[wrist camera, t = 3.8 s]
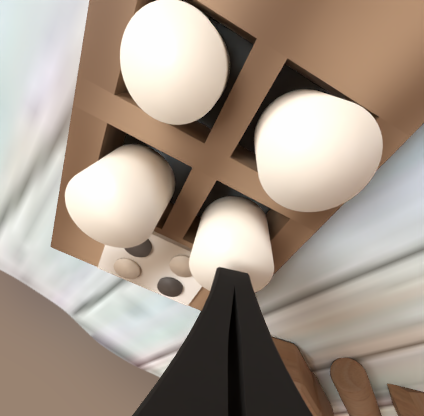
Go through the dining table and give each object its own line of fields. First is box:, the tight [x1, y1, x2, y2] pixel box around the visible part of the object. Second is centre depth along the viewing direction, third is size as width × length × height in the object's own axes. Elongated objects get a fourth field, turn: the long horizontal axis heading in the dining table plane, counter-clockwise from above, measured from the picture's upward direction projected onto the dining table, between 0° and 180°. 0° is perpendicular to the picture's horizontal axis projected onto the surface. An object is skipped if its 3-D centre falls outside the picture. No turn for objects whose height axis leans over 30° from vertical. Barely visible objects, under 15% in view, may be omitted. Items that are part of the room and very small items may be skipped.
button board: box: [51, 0, 424, 311], centre depth 13 cm, size 14×20×4 cm
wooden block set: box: [272, 337, 424, 416], centre depth 23 cm, size 17×6×18 cm
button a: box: [120, 0, 230, 125], centre depth 10 cm, size 4×4×4 cm
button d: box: [189, 196, 274, 293], centre depth 13 cm, size 4×4×4 cm
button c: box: [254, 89, 383, 212], centre depth 10 cm, size 4×4×4 cm
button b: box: [65, 144, 175, 248], centre depth 12 cm, size 4×4×4 cm
